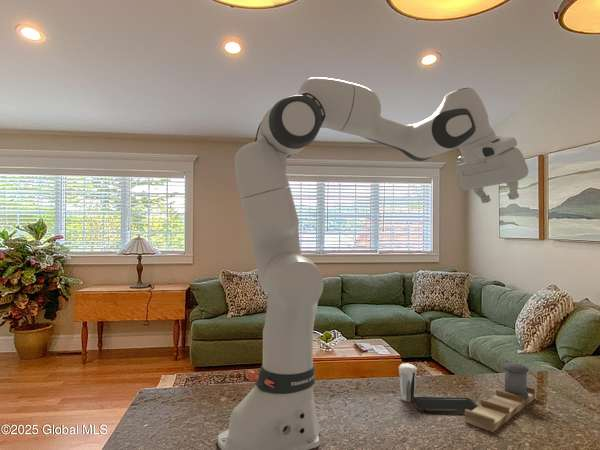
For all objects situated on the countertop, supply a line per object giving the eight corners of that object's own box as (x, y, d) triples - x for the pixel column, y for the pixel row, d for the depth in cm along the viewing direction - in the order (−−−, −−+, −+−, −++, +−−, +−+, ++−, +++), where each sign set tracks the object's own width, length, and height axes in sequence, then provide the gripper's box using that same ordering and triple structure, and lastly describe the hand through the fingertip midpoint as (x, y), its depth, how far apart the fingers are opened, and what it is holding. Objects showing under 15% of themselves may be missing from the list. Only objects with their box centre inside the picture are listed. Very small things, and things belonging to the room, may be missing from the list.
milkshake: (421, 403, 104) (421, 364, 104) (399, 402, 105) (399, 363, 105) (418, 396, 108) (418, 358, 108) (398, 395, 109) (398, 357, 109)
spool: (523, 400, 103) (523, 372, 103) (499, 393, 107) (499, 366, 107) (531, 394, 107) (531, 367, 107) (508, 387, 111) (508, 361, 111)
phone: (411, 396, 107) (470, 397, 106) (411, 401, 107) (470, 402, 106) (419, 410, 99) (482, 411, 98) (419, 415, 99) (482, 416, 98)
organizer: (492, 432, 90) (493, 419, 90) (464, 421, 95) (464, 410, 95) (534, 398, 107) (534, 388, 107) (509, 391, 112) (509, 381, 112)
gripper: (445, 162, 113) (463, 208, 114) (501, 146, 94) (522, 201, 95) (462, 154, 115) (480, 199, 116) (521, 136, 95) (542, 191, 96)
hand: (500, 200), depth 105 cm, fingers open, 8 cm apart
